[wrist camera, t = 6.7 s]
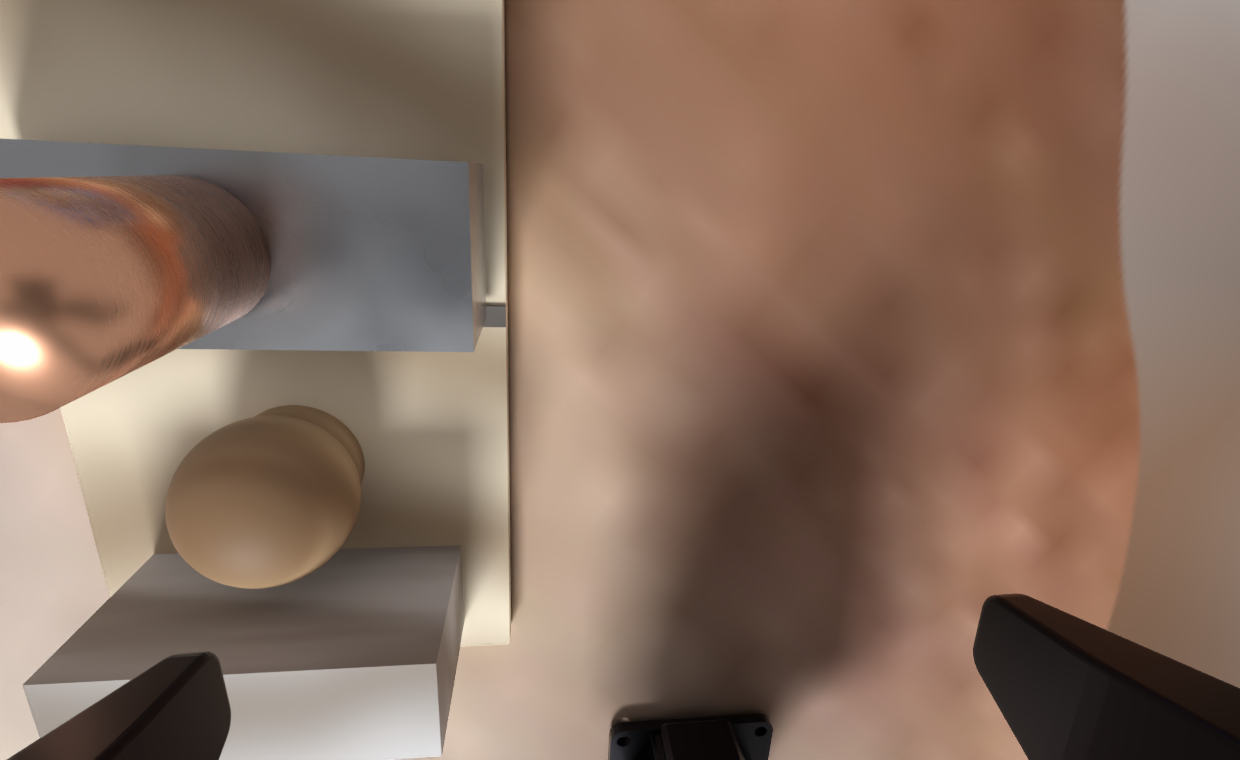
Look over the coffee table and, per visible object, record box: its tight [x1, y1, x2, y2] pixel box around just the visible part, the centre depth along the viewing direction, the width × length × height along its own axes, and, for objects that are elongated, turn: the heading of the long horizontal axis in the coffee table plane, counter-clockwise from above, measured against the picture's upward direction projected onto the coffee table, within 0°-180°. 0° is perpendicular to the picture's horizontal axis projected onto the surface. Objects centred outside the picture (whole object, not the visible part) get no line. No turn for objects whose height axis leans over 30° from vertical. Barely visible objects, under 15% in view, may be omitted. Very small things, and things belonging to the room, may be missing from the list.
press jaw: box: [0, 139, 486, 423], centre depth 12 cm, size 4×11×9 cm, turn 87°
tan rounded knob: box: [165, 405, 365, 589], centre depth 16 cm, size 4×4×4 cm
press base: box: [0, 0, 511, 760], centre depth 15 cm, size 22×12×6 cm, turn 177°
